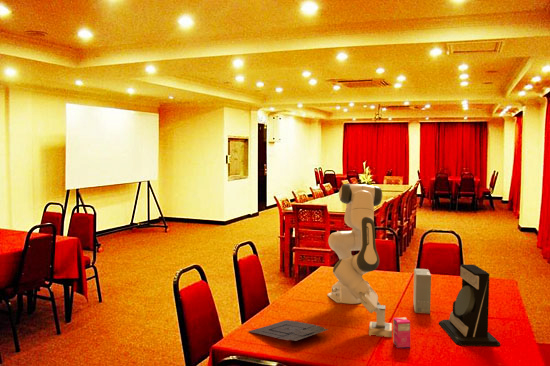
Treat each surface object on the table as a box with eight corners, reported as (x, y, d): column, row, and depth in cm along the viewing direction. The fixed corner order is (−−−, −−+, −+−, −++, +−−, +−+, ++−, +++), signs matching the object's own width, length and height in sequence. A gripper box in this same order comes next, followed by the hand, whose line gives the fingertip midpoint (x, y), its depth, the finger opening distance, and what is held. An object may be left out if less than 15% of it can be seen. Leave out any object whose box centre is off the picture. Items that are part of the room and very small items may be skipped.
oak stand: (368, 335, 225) (369, 328, 225) (370, 327, 235) (370, 321, 235) (391, 337, 223) (391, 330, 223) (391, 329, 233) (392, 322, 233)
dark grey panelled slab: (292, 348, 207) (292, 339, 207) (248, 337, 229) (247, 329, 229) (332, 334, 223) (331, 326, 223) (287, 325, 245) (286, 318, 246)
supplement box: (392, 343, 216) (393, 317, 215) (406, 343, 216) (406, 317, 215) (397, 348, 210) (397, 322, 209) (410, 348, 210) (411, 321, 210)
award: (437, 322, 243) (438, 261, 242) (476, 322, 243) (477, 261, 241) (457, 346, 213) (459, 276, 211) (502, 347, 212) (504, 277, 211)
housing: (375, 326, 227) (376, 308, 226) (376, 322, 232) (376, 304, 232) (385, 327, 226) (385, 308, 226) (385, 323, 231) (385, 305, 231)
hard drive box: (430, 314, 256) (431, 275, 254) (415, 313, 257) (415, 274, 256) (427, 305, 271) (428, 268, 270) (412, 304, 272) (413, 268, 271)
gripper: (364, 291, 219) (386, 315, 218) (367, 280, 239) (387, 301, 238) (354, 300, 221) (376, 324, 219) (357, 288, 241) (377, 310, 239)
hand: (382, 312), depth 229 cm, fingers closed on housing, 5 cm apart
